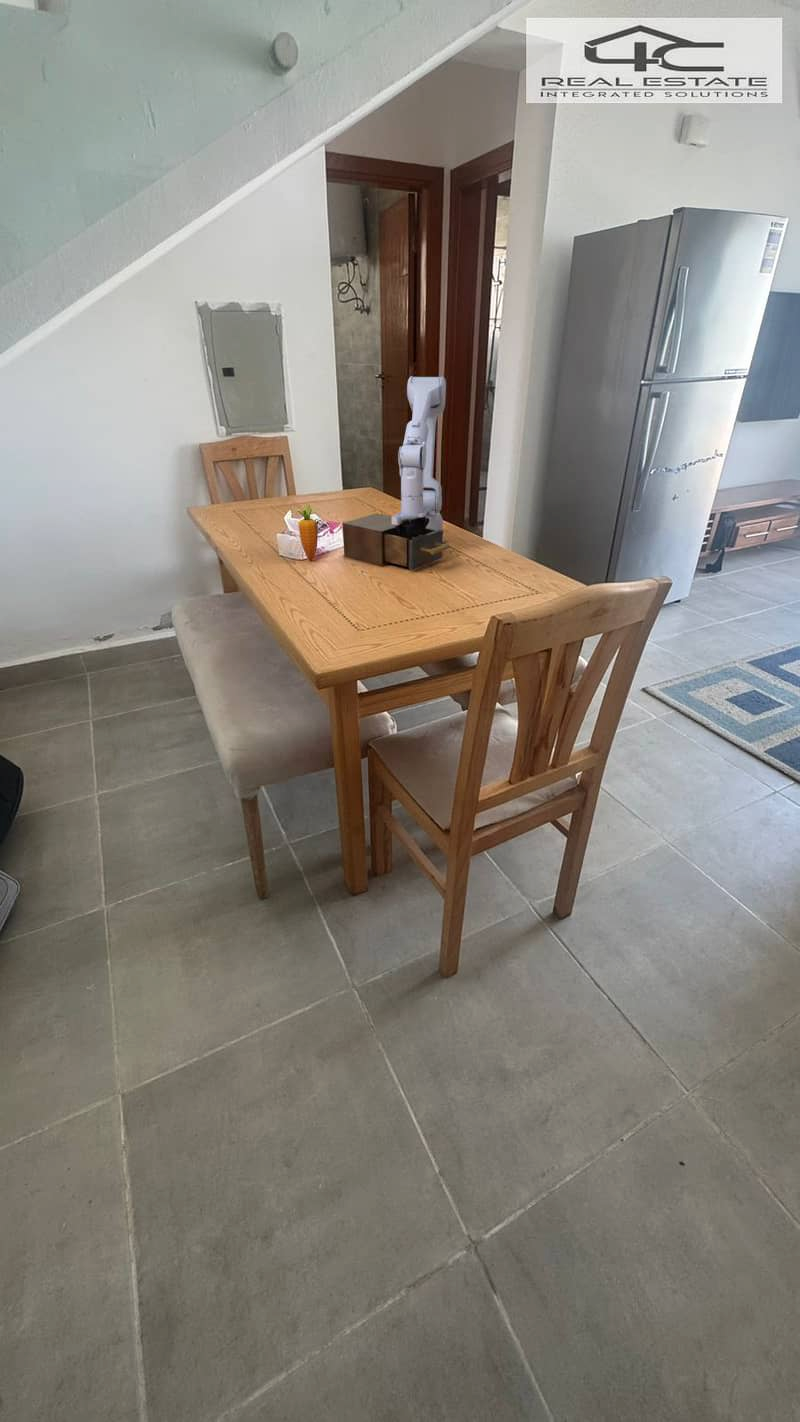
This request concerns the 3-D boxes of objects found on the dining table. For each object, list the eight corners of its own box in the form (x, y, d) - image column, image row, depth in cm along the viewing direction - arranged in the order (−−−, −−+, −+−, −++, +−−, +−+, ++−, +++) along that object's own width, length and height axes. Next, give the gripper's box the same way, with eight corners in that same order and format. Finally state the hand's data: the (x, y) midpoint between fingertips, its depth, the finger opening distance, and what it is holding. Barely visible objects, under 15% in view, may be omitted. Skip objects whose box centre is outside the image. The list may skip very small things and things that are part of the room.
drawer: (456, 561, 164) (457, 533, 160) (426, 573, 156) (427, 544, 152) (404, 549, 174) (404, 522, 170) (374, 560, 166) (373, 532, 162)
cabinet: (415, 554, 173) (415, 520, 168) (382, 566, 164) (381, 531, 159) (377, 545, 181) (377, 513, 176) (344, 556, 172) (342, 522, 167)
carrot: (311, 564, 165) (306, 508, 157) (298, 561, 168) (292, 506, 160) (323, 560, 169) (319, 504, 161) (310, 557, 171) (306, 502, 163)
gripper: (406, 501, 150) (406, 555, 157) (441, 492, 159) (439, 543, 166) (384, 497, 153) (385, 550, 161) (420, 488, 163) (419, 539, 170)
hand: (411, 546), depth 164 cm, fingers closed on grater, 4 cm apart
